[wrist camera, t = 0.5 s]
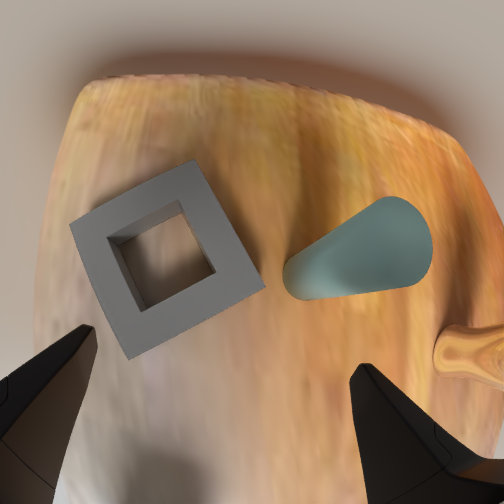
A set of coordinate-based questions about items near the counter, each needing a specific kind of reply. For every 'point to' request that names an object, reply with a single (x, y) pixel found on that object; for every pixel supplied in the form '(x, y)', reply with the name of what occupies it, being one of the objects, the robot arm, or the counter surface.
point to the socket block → (143, 218)
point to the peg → (364, 254)
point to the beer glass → (471, 354)
